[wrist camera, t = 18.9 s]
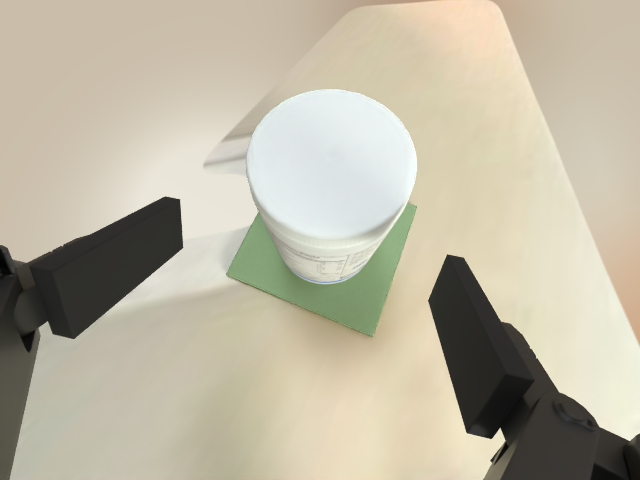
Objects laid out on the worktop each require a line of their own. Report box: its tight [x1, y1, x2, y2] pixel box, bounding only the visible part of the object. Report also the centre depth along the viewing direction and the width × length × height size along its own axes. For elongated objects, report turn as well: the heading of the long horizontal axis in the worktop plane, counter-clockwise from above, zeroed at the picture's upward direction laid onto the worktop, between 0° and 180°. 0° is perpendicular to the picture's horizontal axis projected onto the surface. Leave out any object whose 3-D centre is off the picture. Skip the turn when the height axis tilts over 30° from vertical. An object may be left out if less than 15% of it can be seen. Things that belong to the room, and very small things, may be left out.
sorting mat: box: [226, 203, 417, 337], centre depth 30 cm, size 15×14×1 cm
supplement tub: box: [246, 89, 417, 284], centre depth 23 cm, size 10×10×15 cm
